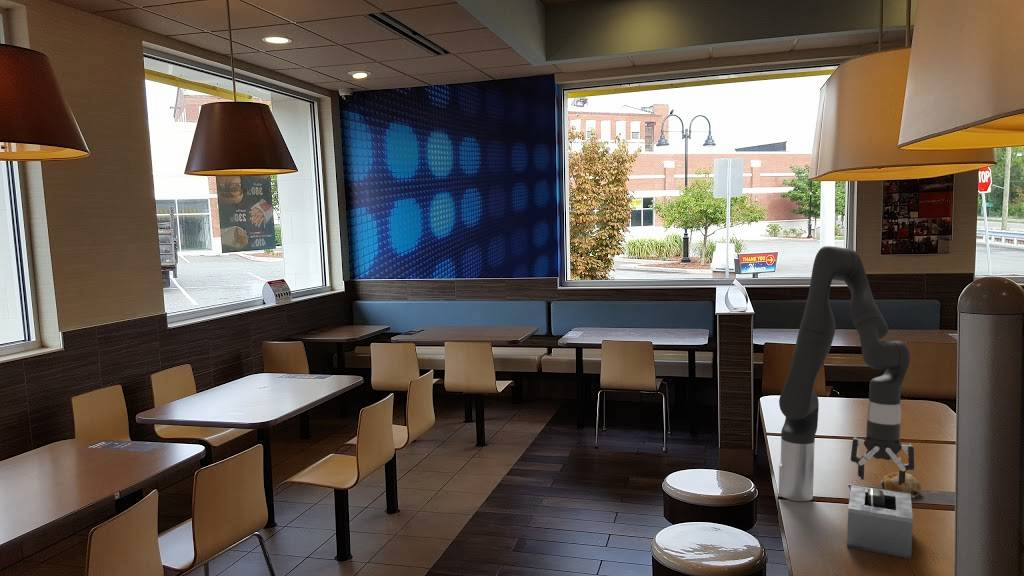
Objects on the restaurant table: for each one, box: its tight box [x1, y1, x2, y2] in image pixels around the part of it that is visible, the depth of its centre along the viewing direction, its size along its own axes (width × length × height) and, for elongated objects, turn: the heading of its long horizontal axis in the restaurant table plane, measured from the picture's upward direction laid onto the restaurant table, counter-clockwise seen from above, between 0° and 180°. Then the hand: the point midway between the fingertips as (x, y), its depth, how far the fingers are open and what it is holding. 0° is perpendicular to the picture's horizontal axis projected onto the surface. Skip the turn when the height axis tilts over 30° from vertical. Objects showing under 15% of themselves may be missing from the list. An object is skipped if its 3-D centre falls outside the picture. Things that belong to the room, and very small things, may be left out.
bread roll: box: [880, 471, 922, 499], centre depth 211 cm, size 10×10×8 cm
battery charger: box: [868, 487, 885, 508], centre depth 179 cm, size 7×4×11 cm, turn 153°
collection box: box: [846, 484, 914, 560], centre depth 179 cm, size 14×18×10 cm
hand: (881, 481), depth 178 cm, fingers open, 8 cm apart
